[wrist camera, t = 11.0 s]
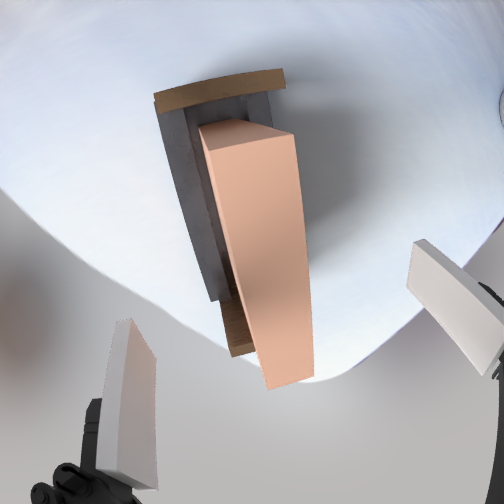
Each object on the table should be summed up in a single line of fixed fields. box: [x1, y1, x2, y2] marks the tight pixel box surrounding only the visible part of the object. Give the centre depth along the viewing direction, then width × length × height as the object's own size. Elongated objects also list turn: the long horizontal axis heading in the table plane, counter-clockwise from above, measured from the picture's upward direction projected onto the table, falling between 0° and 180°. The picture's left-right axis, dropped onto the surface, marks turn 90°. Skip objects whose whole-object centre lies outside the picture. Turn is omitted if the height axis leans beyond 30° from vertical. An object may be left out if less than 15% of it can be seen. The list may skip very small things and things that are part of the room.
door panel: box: [198, 118, 314, 390], centre depth 19 cm, size 3×14×14 cm, turn 10°
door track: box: [153, 68, 286, 357], centre depth 22 cm, size 9×20×9 cm, turn 10°
